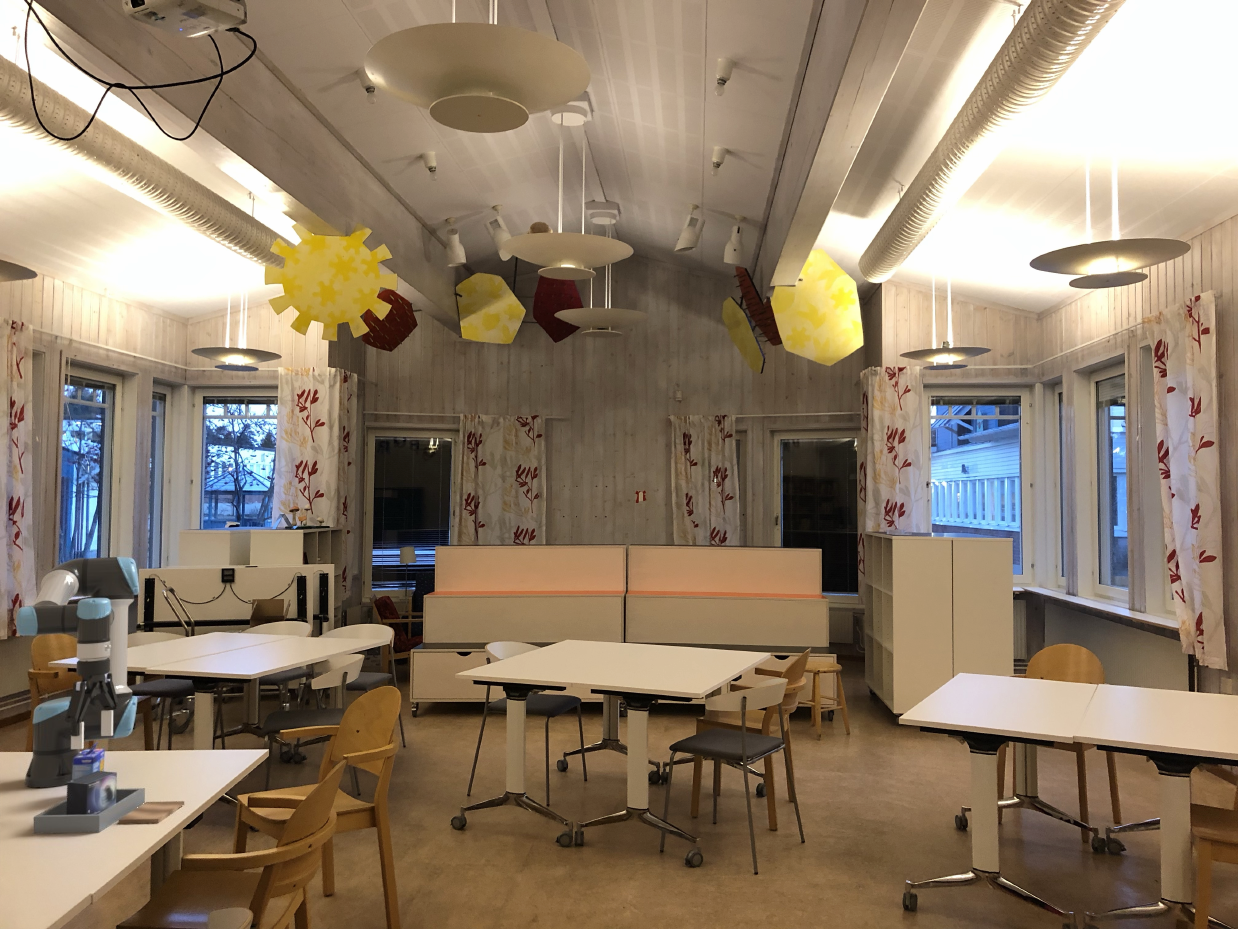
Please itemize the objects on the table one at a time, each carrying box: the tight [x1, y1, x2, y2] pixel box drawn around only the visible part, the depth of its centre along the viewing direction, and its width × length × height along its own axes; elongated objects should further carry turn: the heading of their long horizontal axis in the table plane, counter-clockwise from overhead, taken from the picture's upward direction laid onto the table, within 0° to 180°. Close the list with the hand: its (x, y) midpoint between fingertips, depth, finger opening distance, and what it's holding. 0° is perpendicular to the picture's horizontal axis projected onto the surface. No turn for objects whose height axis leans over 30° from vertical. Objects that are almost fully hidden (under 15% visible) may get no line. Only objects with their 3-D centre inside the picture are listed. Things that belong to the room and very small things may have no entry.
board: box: [118, 800, 185, 825], centre depth 238 cm, size 14×10×1 cm
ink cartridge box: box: [72, 742, 105, 780], centre depth 253 cm, size 10×6×14 cm, turn 13°
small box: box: [66, 770, 118, 815], centre depth 236 cm, size 11×6×10 cm, turn 168°
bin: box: [33, 787, 146, 834], centre depth 236 cm, size 22×16×4 cm
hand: (92, 742), depth 237 cm, fingers open, 13 cm apart
